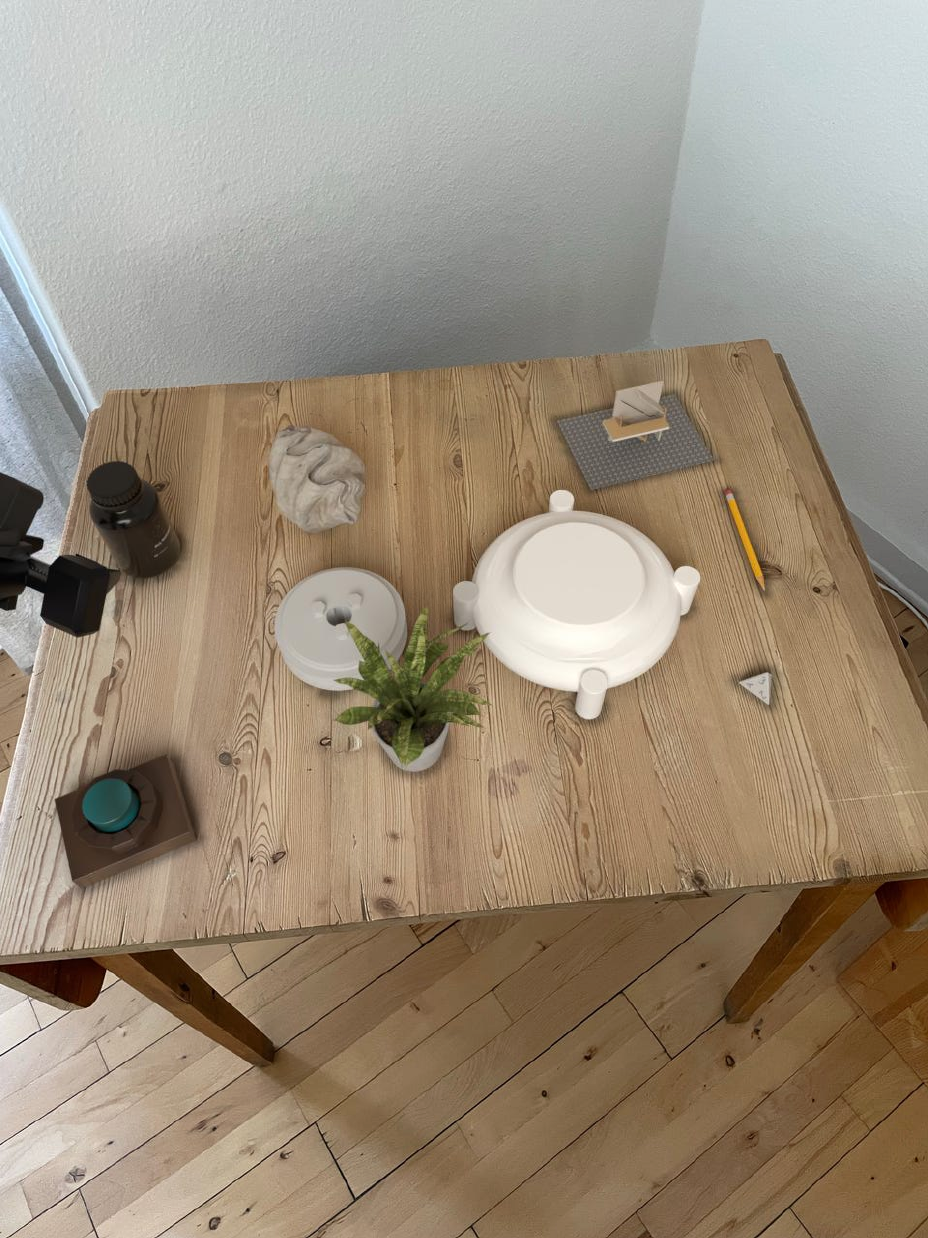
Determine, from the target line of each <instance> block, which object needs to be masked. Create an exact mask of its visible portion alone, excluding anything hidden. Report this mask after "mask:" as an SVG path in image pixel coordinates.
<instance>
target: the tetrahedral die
mask: <svg viewBox="0 0 928 1238" xmlns="http://www.w3.org/2000/svg"><path fill="white" fill-rule="evenodd" d="M772 678H773V675H772V674H771V673H769V672H763V673H760V674H758V675H754V676H752V677H749V678H746V679H743V680H740V681H738V684H740V685H741V686H743V687H744V688H745V689H746V690H747V691H749V692H750V693H752V695H754V696H756V697H757V698H758V699H760V700H761V701H762V702H763V703H765V704H766V705H770V699H771V688H772Z"/></svg>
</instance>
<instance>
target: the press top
mask: <svg viewBox="0 0 928 1238" xmlns="http://www.w3.org/2000/svg"><path fill="white" fill-rule="evenodd" d="M138 808H139V801H138V797H137V795H136V794H135V793H134V791H133V790H132V789H131V788H130V787H129V786H128V785H127V784H126V783H125V782H124V781H122V780H120V779H115V778H109V779H104V780H102V781H99V782H98V783H96V784H95V785H93V786H92V787H91V788H90V789H89V790H88V792H87V793H86V795H85V797H84V800H83V812H84V815H85V816H86V818H87V819H88V820H89V821H90V822H91V823H93V824H94V825H95V826H96V827H97V828H98V829H100V830H102V831H106V832H113V831H118V830H121V829H123V828H124V827H126V826H127V825H129V824H130V823H131V822H132V821H133V819H134V818H135V816H136V814H137V812H138Z"/></svg>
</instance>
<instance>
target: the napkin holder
mask: <svg viewBox="0 0 928 1238" xmlns="http://www.w3.org/2000/svg"><path fill="white" fill-rule="evenodd" d="M663 386H664V380H660V381H659V380H658V381H655V382H650V383H646V384H641V385H637V386H633V387H627V388H624V389H619V390H615V397H614V401H613V406H612V408H611V409H612V413H611V418H607V419H603V420H602V425H603V427H604V429H605V431H606V432H607V434H608V437H607V440H608V441H611V442H612V443H615V442H620V441H624V440H628V439H632V438H637V439H639V440H641V441H643V443H644V444H645V443H646V442H647V439H648V435H650V434H654V435H655V437H656V439H657V440H658V441H660V440H661V438H662V433H663V431H667V430H669V429H670V425H669V424H668V422H667V420H666V417H667V410H668V407H667V406H665V407H664V408H663V407H662V405H661V404H660V400H661V397H662V396H661V394H662V392H663V391H662V390H663Z"/></svg>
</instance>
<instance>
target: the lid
mask: <svg viewBox="0 0 928 1238" xmlns="http://www.w3.org/2000/svg"><path fill="white" fill-rule="evenodd" d="M406 617H407V616H406V609H405V605H404V602H403V600H402V597H401V595H400V593H399V592H398V590H397V589H396V588H395V587H394V586H393V584H392V583H390V582H389V581H388V580H387V579H385V578H384V577H383V576H381V575H379V574H377V573H375V572H372V571H370V570H368V569H367V570H366V569H363V568H357V567H347V566H346V567H345V566H343V567H342V566H341V567H332V568H328V569H324V570H320V571H318V572H315V573H313V574H310V575H308V576H306V577H305V578H303V579H302V580H300V581H299V582H298V583H297V584H295V585H294V586H293V587H292V588H291V589H290V590H289V591H288V592H287V593H286V595H285V596H284V597H283V599H282V600H281V602H280V604H279V605H278V608H277V611H276V613H275V618H274V628H273V629H274V635H275V636H274V637H275V640H276V644H277V647H278V649H279V650H280V654H281V656H282V657H281V658H282V659H283V661H284V663H285V665H286V667H287V668H288V669H289V671H290V672H291V673H292V674H293V675H294V676H296V677H297V678H298V679H299V680H301V681H302V682H304V683H306V684H308V685H309V686H312V687H314V688H318V689H321V690H327V691H339V692H340V691H341V692H342V691H350V690H354V689H353V688H351V687H350V686H348V685H346V684H340V683H338V682H336V681H333V680H336V679H341V678H357V679H361V680H364V679H363V678H362V676H361V675H360V673H359V670H358V668H359V660H360V661H362V662H365V661H364V659H363V657H362V655H361V653H360V652H359V650H358V648H357V646H356V644H355V642H354V640H353V639H352V637H351V635H350V633H349V630H348V628H347V626H346V624H345V621H347V622H349V623H351V624H353V625H355V626H356V627H357V628H358V629H359V631H360V632H361V633H362V634H363V635H364V636H366V637H367V638H369V639H370V640H372V641H373V642H374V643H375V644H376V646H377V647H378V642H379V649H380V653H381V655H382V657H383V658H384V660H385V662H386V664H387V666H388V669H389V671H391V670H392V667H391V665H390V662H389V659H388V657H387V654H386V651H387V652H388V653H389V654H390V655H392V656H393V658H394V659H395V661H396V663H397V664H398V661H399V660H400V658H401V657H402V655H403V652H404V650H405V647H406V645H407V639H408V623H407V619H406ZM344 618H345V620H344ZM364 681H365V680H364Z"/></svg>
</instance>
